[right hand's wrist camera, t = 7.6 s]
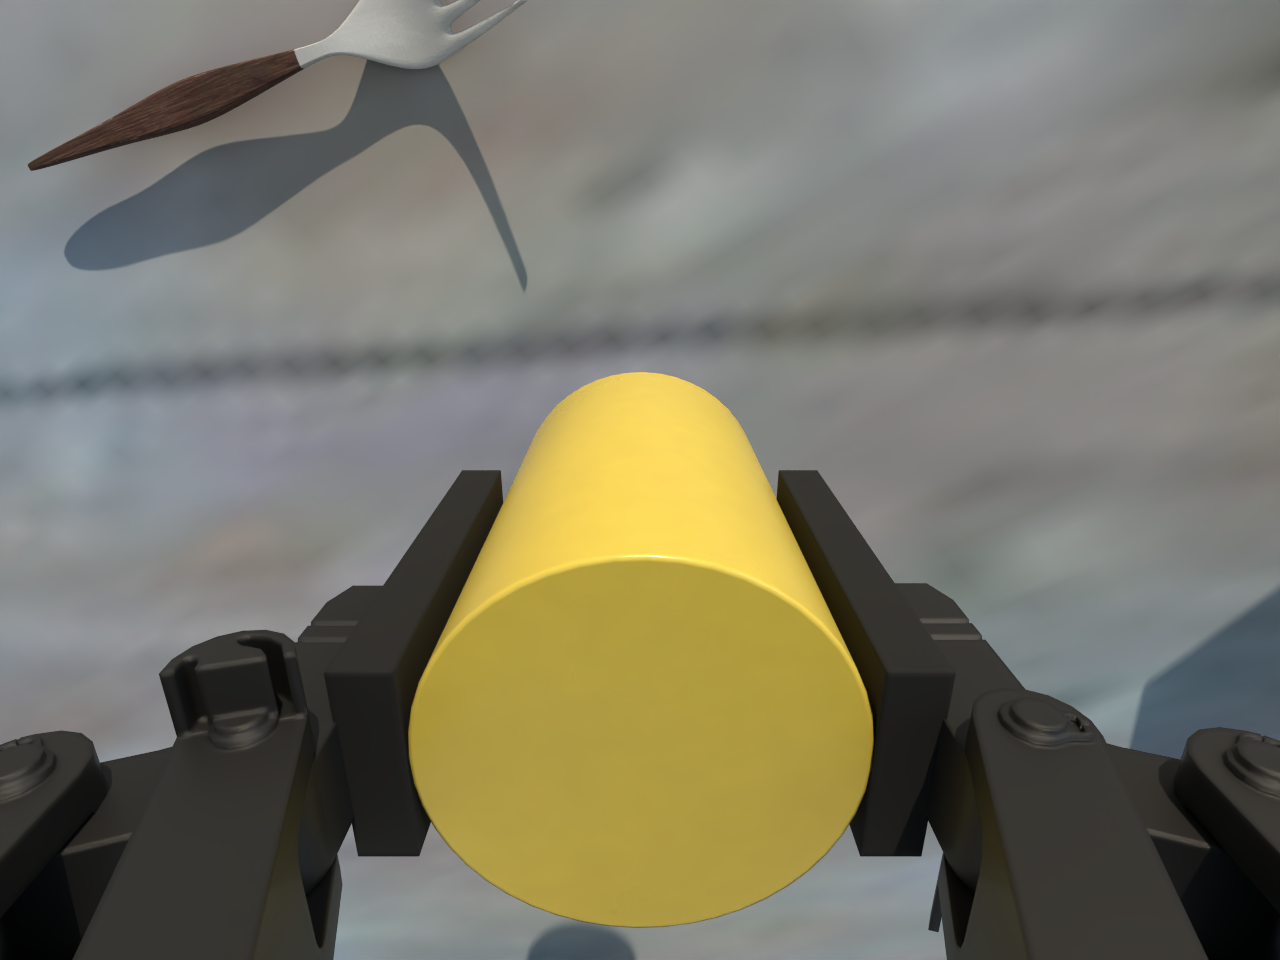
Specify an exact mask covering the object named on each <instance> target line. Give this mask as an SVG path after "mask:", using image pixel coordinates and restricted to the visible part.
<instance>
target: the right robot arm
mask: <svg viewBox="0 0 1280 960" xmlns="http://www.w3.org/2000/svg"><path fill="white" fill-rule="evenodd" d="M777 502H778V504H779V506H780V508H781V510H782V512H783V514H784V516H785V518H786V520H787V523H788V525H789V527H790V529H791V531H792V533H793V535H794V537H795V539H796V541H797V544H798V546H799V548H800V550H801V552H802V554H803V556H804V558H805V560H806V562H807V565H808V567H809V569H810V571H811V573H812V575H813V577H814V579H815V581H816V583H817V586H818V588H819V590H820V592H821V594H822V596H823V598H824V600H825V602H826V604H827V607H828V609H829V611H830V613H831V615H832V617H833V619H834V621H835V623H836V625H837V628H838V630H839V632H840V634H841V636H842V638H843V640H844V642H845V644H846V646H847V649H848V651H849V653H850V655H851V657H852V659H853V661H854V663H855V665H856V668H857V670H858V672H859V675H860V677H861V679H862V682H863V684H864V686H865V689H866V691H867V695H868V700H869V704H870V708H871V712H872V717H873V731H874V746H873V757H872V766H871V771H870V775H869V779H868V783H867V787H866V791H865V793H864V795H863V798H862V800H861V802H860V805H859V807H858V809H857V812H856V814H855V815H854V817H853V819H852V820H851V822H850V827H851V830H852V833H853V836H854V839H855V842H856V845H857V848H858V851H859V853H860V856H921V855H922V850H923V845H924V839H925V834H926V829H927V823H928V821H929V823H930V825H931V827H932V829H933V831H934V833H935V836H936V838H937V840H938V842H939V844H940V846H941V848H942V850H943V856H942V860H941V865H940V870H939V875H938V880H937V885H936V890H935V895H934V900H933V905H932V910H931V915H930V922H929V929H928V930H931V931H935V932H938V931H939V927H940V922H941V917H942V922H943V931H944V939H945V947H946V955H947V960H1280V741H1278V740H1275V739H1272V738H1269V737H1267V736H1264V737H1263V736H1261V735H1260V734H1256V733H1252V732H1248V731H1242V730H1235V729H1228V728H1220V727H1218V728H1210V729H1202V730H1198V731H1197V732H1196V733H1194V734H1193V735H1192V736H1190V737H1189V738H1188V740H1187V743H1186V746H1185V749H1184V751H1183V754H1182V757H1181V760H1179V759H1175V758H1170V757H1165V756H1160V755H1155V754H1151V753H1146V752H1141V751H1136V750H1132V749H1127V748H1122V747H1118V746H1115V745H1111V744H1107V743H1106V741H1105V739H1104V737H1103V736H1102V734H1101V733H1100V732H1099V730H1098V729H1097V728H1096V726H1095V725H1094V724H1093V722H1092V721H1091V720H1090V719H1088V718H1087V717H1086V716H1084V715H1083V714H1081V713H1080V712H1079V711H1077V710H1076V709H1075V708H1073V707H1072V706H1070V705H1068V704H1066V703H1063V702H1061V701H1059V700H1057V699H1055V698H1052V697H1050V696H1048V695H1044V694H1040V693H1037V692H1033V691H1029V690H1025V688H1024V687H1023V686H1022V685H1021V683H1020V682H1019V681H1018V680H1017V678H1016V677H1015V676H1014V675H1013V674H1012V672H1011V671H1010V670H1009V669H1008V667H1007V666H1006V665H1005V664H1004V662H1003V661H1002V660H1001V659H1000V657H999V656H998V655H997V654H996V652H995V651H994V650H993V649H992V648H991V646H990V645H989V644H988V643H987V641H986V640H982V635H981V634H980V633H979V631H978V630H977V629H976V628H975V626H974V625H973V624H972V623H969V619H968V618H967V617H966V615H965V614H964V613H963V612H962V610H961V609H960V608H959V607H958V605H957V604H956V603H955V602H954V601H953V600H952V599H951V598H949V597H947V596H946V595H944V594H943V593H941V592H940V591H938V590H936V589H935V588H933V587H932V586H930V585H928V584H927V583H894V582H893V580H892V579H891V577H890V576H889V574H888V573H887V571H886V570H885V569H884V567H883V566H882V564H881V563H880V561H879V560H878V558H877V557H876V555H875V554H874V553H873V551H872V550H871V548H870V547H869V545H868V544H867V542H866V541H865V539H864V538H863V537H862V535H861V534H860V532H859V531H858V529H857V528H856V526H855V525H854V523H853V522H852V520H851V519H850V518H849V516H848V515H847V513H846V512H845V510H844V509H843V507H842V506H841V504H840V503H839V502H838V500H837V499H836V497H835V496H834V494H833V493H832V491H831V490H830V488H829V487H828V486H827V484H826V483H825V481H824V480H823V478H822V477H821V475H820V474H819V472H818V471H817V470H779V475H778V489H777ZM502 505H503V495H502V482H501V470H462V472H461V473H460V475H459V476H458V478H457V479H456V480H455V482H454V483H453V485H452V486H451V488H450V489H449V491H448V492H447V494H446V495H445V496H444V498H443V499H442V501H441V502H440V504H439V505H438V507H437V508H436V510H435V511H434V512H433V514H432V515H431V517H430V518H429V520H428V521H427V523H426V524H425V526H424V527H423V529H422V530H421V531H420V533H419V534H418V536H417V537H416V539H415V540H414V542H413V543H412V545H411V546H410V547H409V549H408V550H407V552H406V553H405V555H404V556H403V558H402V559H401V561H400V562H399V563H398V565H397V566H396V568H395V569H394V571H393V572H392V574H391V575H390V577H389V578H388V579H387V581H386V582H385V584H384V585H383V586H352V587H350V588H349V589H347V590H346V591H344V592H342V593H341V594H339V595H338V596H336V597H335V598H333V599H331V600H330V601H328V602H327V603H326V604H325V605H324V607H323V608H322V609H321V610H320V612H319V613H318V614H317V615H316V616H315V618H314V619H313V620H312V621H311V626H307V628H306V629H305V630H304V631H303V633H302V634H301V635H300V636H299V638H298V642H295V643H294V641H292V640H291V639H290V638H289V637H287V636H286V635H285V634H283V633H278V632H273V631H268V630H253V631H240V632H236V633H231V634H227V635H222V636H218V637H215V638H213V639H210V640H208V641H205V642H203V643H200V644H198V645H195V646H193V647H191V648H189V649H188V650H186V651H185V652H183V653H182V654H180V655H178V656H177V657H175V658H174V659H172V660H171V661H170V662H169V663H168V664H167V666H166V667H165V668H164V669H163V670H162V671H161V672H160V673H159V676H160V679H161V683H162V686H163V690H164V693H165V697H166V700H167V704H168V707H169V711H170V714H171V718H172V721H173V725H174V728H175V732H176V735H177V738H176V741H175V743H174V745H173V747H170V748H166V749H162V750H159V751H154V752H149V753H144V754H140V755H135V756H130V757H125V758H121V759H116V760H111V761H106V762H102V763H100V762H99V759H98V756H97V753H96V751H95V748H94V745H93V742H92V741H91V740H90V739H88V738H87V737H86V736H84V735H83V734H82V733H76V732H68V731H55V732H48V733H41V734H34V735H30V736H26V737H22V738H20V739H18V740H17V739H15V740H12V741H10V742H7V743H4V744H2V745H0V960H333V957H334V949H335V941H336V932H337V924H338V916H339V908H340V899H341V891H342V878H341V871H340V865H339V860H338V856H337V853H338V851H339V849H340V847H341V845H342V842H343V840H344V838H345V836H346V834H347V832H348V830H349V828H350V825H351V823H352V826H353V831H354V837H355V842H356V847H357V852H358V856H419V855H420V852H421V849H422V846H423V843H424V840H425V837H426V835H427V832H428V829H429V826H430V823H431V820H430V819H429V817H428V815H427V813H426V811H425V809H424V808H423V806H422V803H421V800H420V798H419V795H418V792H417V789H416V787H415V784H414V780H413V775H412V770H411V765H410V760H409V744H408V728H409V721H410V713H411V706H412V703H413V700H414V697H415V693H416V690H417V687H418V683H419V681H420V679H421V677H422V675H423V672H424V670H425V668H426V666H427V664H428V662H429V660H430V658H431V655H432V653H433V651H434V649H435V647H436V645H437V643H438V641H439V639H440V636H441V634H442V632H443V630H444V628H445V626H446V624H447V622H448V619H449V617H450V615H451V613H452V611H453V609H454V607H455V605H456V602H457V600H458V598H459V596H460V594H461V592H462V590H463V588H464V585H465V583H466V581H467V579H468V577H469V575H470V573H471V571H472V568H473V566H474V564H475V562H476V560H477V558H478V556H479V554H480V551H481V549H482V547H483V545H484V543H485V541H486V539H487V537H488V534H489V532H490V530H491V528H492V526H493V524H494V522H495V520H496V518H497V515H498V513H499V511H500V509H501V507H502Z"/></svg>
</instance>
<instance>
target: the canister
mask: <svg viewBox="0 0 1280 960" xmlns="http://www.w3.org/2000/svg"><path fill="white" fill-rule="evenodd" d="M408 744H409V760H410V765H411V770H412V775H413V780H414V784H415V787H416V789H417V792H418V795H419V798H420V800H421V803H422V806H423V808H424V809H425V811H426V813H427V815H428V817H429V819H430V820H431V822H432V824H433V826H434V827H435V829H436V830H437V831H438V833H439V834H440V836H441V837H442V838H443V840H444V841H445V842H446V844H447V845H448V846H449V847H450V848H451V849H452V850H453V852H454V853H455V854H456V855H457V856H458V857H459V858H460V859H461V860H462V861H463V862H464V863H465V864H466V865H467V866H469V867H470V868H471V869H472V870H474V871H475V872H476V873H477V874H479V875H480V876H481V877H482V878H483V879H485V880H486V881H488V882H489V883H491V884H492V885H494V886H495V887H497V888H499V889H500V890H502V891H503V892H505V893H507V894H508V895H510V896H512V897H514V898H516V899H518V900H520V901H523V902H525V903H527V904H529V905H531V906H533V907H536V908H539V909H541V910H544V911H547V912H549V913H552V914H555V915H558V916H562V917H566V918H570V919H574V920H578V921H581V922H587V923H593V924H600V925H606V926H617V927H633V928H643V927H666V926H674V925H682V924H690V923H695V922H699V921H704V920H708V919H713V918H717V917H720V916H723V915H726V914H729V913H732V912H735V911H738V910H741V909H744V908H746V907H748V906H751V905H753V904H755V903H757V902H760V901H762V900H764V899H766V898H768V897H770V896H771V895H773V894H775V893H777V892H778V891H780V890H782V889H784V888H785V887H787V886H789V885H790V884H791V883H793V882H794V881H795V880H797V879H798V878H799V877H801V876H802V875H804V874H805V873H806V872H808V871H809V870H810V869H811V868H812V867H813V866H814V865H815V864H816V863H817V862H819V861H820V860H821V859H822V858H823V857H824V856H825V855H826V854H827V853H828V852H829V851H830V849H831V848H832V847H833V846H834V844H835V843H836V842H837V841H838V840H839V838H840V837H841V836H842V835H843V833H844V832H845V830H846V828H847V827H848V825H849V824H850V822H851V820H852V819H853V817H854V815H855V814H856V812H857V809H858V807H859V805H860V802H861V800H862V798H863V795H864V793H865V791H866V787H867V783H868V779H869V775H870V771H871V766H872V757H873V746H874V731H873V717H872V712H871V708H870V704H869V700H868V695H867V691H866V689H865V686H864V684H863V682H862V679H861V677H860V675H859V672H858V670H857V668H856V665H855V663H854V661H853V659H852V657H851V655H850V653H849V651H848V649H847V646H846V644H845V642H844V640H843V638H842V636H841V634H840V632H839V630H838V628H837V625H836V623H835V621H834V619H833V617H832V615H831V613H830V611H829V609H828V607H827V604H826V602H825V600H824V598H823V596H822V594H821V592H820V590H819V588H818V586H817V583H816V581H815V579H814V577H813V575H812V573H811V571H810V569H809V567H808V565H807V562H806V560H805V558H804V556H803V554H802V552H801V550H800V548H799V546H798V544H797V541H796V539H795V537H794V535H793V533H792V531H791V529H790V527H789V525H788V523H787V520H786V518H785V516H784V514H783V512H782V510H781V508H780V506H779V504H778V502H777V499H776V497H775V495H774V493H773V491H772V489H771V487H770V485H769V483H768V481H767V478H766V476H765V474H764V472H763V470H762V468H761V466H760V464H759V462H758V460H757V457H756V455H755V453H754V451H753V449H752V447H751V445H750V443H749V441H748V439H747V436H746V434H745V433H744V431H743V429H742V428H741V426H740V424H739V423H738V421H737V420H736V419H735V417H734V416H733V415H732V414H731V412H730V411H729V410H728V409H727V408H726V407H725V406H724V405H723V404H722V403H721V402H720V401H719V400H717V399H716V398H715V397H713V396H712V395H711V394H709V393H708V392H706V391H705V390H703V389H701V388H699V387H698V386H696V385H694V384H692V383H690V382H687V381H684V380H682V379H679V378H676V377H672V376H668V375H663V374H657V373H646V372H638V373H624V374H618V375H613V376H609V377H606V378H603V379H599V380H596V381H594V382H592V383H590V384H588V385H585V386H583V387H581V388H580V389H578V390H577V391H575V392H573V393H572V394H570V395H569V396H568V397H566V398H565V399H564V400H563V401H562V402H560V403H559V404H558V405H557V406H556V407H555V408H554V409H553V410H552V411H551V413H550V414H549V415H548V416H547V417H546V419H545V420H544V422H543V423H542V425H541V426H540V427H539V429H538V431H537V433H536V435H535V437H534V439H533V441H532V443H531V445H530V447H529V450H528V452H527V454H526V456H525V458H524V460H523V462H522V464H521V467H520V469H519V471H518V473H517V475H516V477H515V479H514V481H513V484H512V486H511V488H510V490H509V492H508V494H507V496H506V498H505V501H504V503H503V505H502V507H501V509H500V511H499V513H498V515H497V518H496V520H495V522H494V524H493V526H492V528H491V530H490V532H489V534H488V537H487V539H486V541H485V543H484V545H483V547H482V549H481V551H480V554H479V556H478V558H477V560H476V562H475V564H474V566H473V568H472V571H471V573H470V575H469V577H468V579H467V581H466V583H465V585H464V588H463V590H462V592H461V594H460V596H459V598H458V600H457V602H456V605H455V607H454V609H453V611H452V613H451V615H450V617H449V619H448V622H447V624H446V626H445V628H444V630H443V632H442V634H441V636H440V639H439V641H438V643H437V645H436V647H435V649H434V651H433V653H432V655H431V658H430V660H429V662H428V664H427V666H426V668H425V670H424V672H423V675H422V677H421V679H420V681H419V683H418V687H417V690H416V693H415V697H414V700H413V703H412V706H411V713H410V721H409V728H408Z"/></svg>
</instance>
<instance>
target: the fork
mask: <svg viewBox="0 0 1280 960" xmlns="http://www.w3.org/2000/svg"><path fill="white" fill-rule="evenodd" d="M479 1H480V0H457V1H455V2H453V3H451V4H448V5H442V4H441V3H440V0H360V1H359V2H358V4H357V5H356V7H355V8H354V9H353V11H352V12H351V13H350V15H349V16H348V17H347V19H346V20H345V21H344V22H343V24H342V25H341V26H340V27H339V28H338V29H337V30H336V31H335V32H334V33H333V34H331V35H330V36H329V37H327V38H326V39H324V40H322V41H319V42H317V43H315V44H312V45H309V46H305V47H302V48H298V49H294V50H290V51H286V52H283V53H278V54H274V55H270V56H266V57H262V58H258V59H254V60H250V61H246V62H241V63H237V64H233V65H229V66H225V67H222V68H218V69H214V70H211V71H207V72H204V73H201V74H197V75H194V76H191V77H188V78H186V79H183V80H181V81H178V82H176V83H174V84H171V85H169V86H167V87H165V88H163V89H162V90H160V91H158V92H156V93H154V94H152V95H150V96H149V97H147V98H145V99H143V100H142V101H140V102H138V103H137V104H135V105H133V106H131V107H130V108H128V109H126V110H124V111H123V112H121V113H119V114H118V115H116V116H114V117H112V118H111V119H109V120H107V121H105V122H103V123H101V124H100V125H98V126H96V127H94V128H92V129H91V130H89V131H87V132H85V133H83V134H81V135H79V136H77V137H75V138H74V139H72V140H70V141H68V142H66V143H64V144H62V145H60V146H59V147H57V148H55V149H53V150H51V151H49V152H47V153H46V154H44V155H42V156H40V157H38V158H37V159H35V160H34V161H32V162H30V163H29V164H28V167H29V168H30V170H31V171H33V170H38V169H42V168H46V167H50V166H53V165H57V164H60V163H64V162H67V161H71V160H74V159H78V158H81V157H84V156H88V155H91V154H95V153H98V152H101V151H105V150H109V149H112V148H116V147H119V146H123V145H127V144H130V143H134V142H138V141H142V140H146V139H150V138H154V137H158V136H162V135H166V134H170V133H174V132H178V131H181V130H185V129H188V128H191V127H194V126H197V125H200V124H203V123H205V122H208V121H210V120H212V119H214V118H216V117H219V116H221V115H223V114H225V113H227V112H228V111H230V110H232V109H234V108H236V107H238V106H240V105H241V104H243V103H245V102H247V101H249V100H250V99H252V98H254V97H256V96H257V95H259V94H261V93H263V92H264V91H266V90H268V89H270V88H271V87H273V86H275V85H276V84H278V83H280V82H282V81H283V80H285V79H287V78H289V77H290V76H292V75H294V74H296V73H297V72H299V71H301V70H303V69H304V68H306V67H308V66H310V65H312V64H314V63H316V62H318V61H320V60H322V59H324V58H327V57H330V56H334V55H350V56H356V57H360V58H364V59H368V60H372V61H375V62H379V63H382V64H386V65H390V66H394V67H399V68H405V69H424V68H429V67H433V66H435V65H438V64H440V63H442V62H443V61H445V60H447V59H448V58H450V57H451V56H453V55H454V54H455V53H457V52H458V51H460V50H461V49H462V48H464V47H465V46H467V45H468V44H470V43H471V42H473V41H474V40H476V39H477V38H478V37H480V36H481V35H483V34H484V33H485V32H487V31H488V30H490V29H491V28H492V27H494V26H495V25H496V24H497V23H499V22H500V21H501V20H503V19H504V18H505V17H507V16H508V15H509V14H511V13H512V12H513V11H514V10H516V9H517V8H518V7H520V6H521V5H522V4H524V3H525V2H527V0H519V1H517V2H515V3H514V4H512V5H510V6H508V7H507V8H505V9H503V10H501V11H499V12H497V13H496V14H494V15H492V16H490V17H488V18H486V19H484V20H483V21H481V22H479V23H477V24H475V25H473V26H471V27H469V28H468V29H466V30H463V31H461V32H459V33H452V32H451V30H450V27H451V25H452V23H453V22H454V21H455V20H456V19H457V18H458V17H459V16H460V15H462V14H463V13H464V12H466V11H467V10H468V9H470V8H471V7H472V6H474V5H475V4H476V3H477V2H479Z"/></svg>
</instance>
